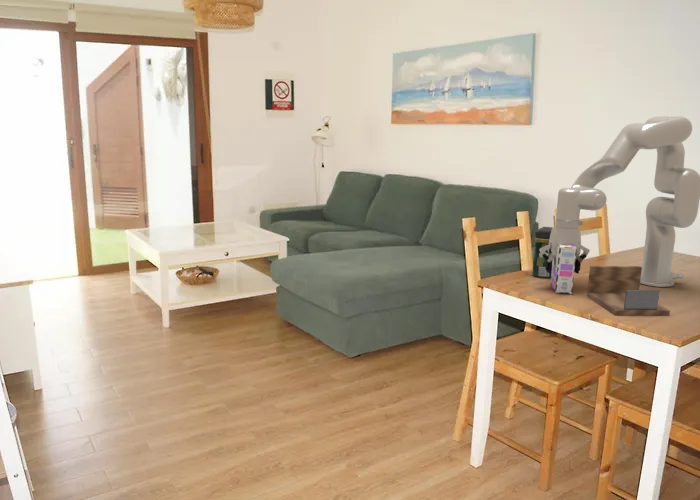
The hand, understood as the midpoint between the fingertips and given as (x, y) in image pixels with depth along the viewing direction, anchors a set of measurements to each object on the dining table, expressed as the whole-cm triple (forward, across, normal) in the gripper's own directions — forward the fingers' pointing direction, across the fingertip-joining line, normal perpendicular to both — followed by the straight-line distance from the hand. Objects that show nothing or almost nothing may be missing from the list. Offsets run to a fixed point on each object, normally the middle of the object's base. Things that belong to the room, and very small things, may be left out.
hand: (562, 272), depth 207 cm
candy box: (+6, 0, 0) cm, 6 cm away
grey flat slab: (+4, -14, +28) cm, 31 cm away
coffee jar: (+6, 0, -18) cm, 19 cm away
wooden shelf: (+6, -14, +19) cm, 24 cm away
